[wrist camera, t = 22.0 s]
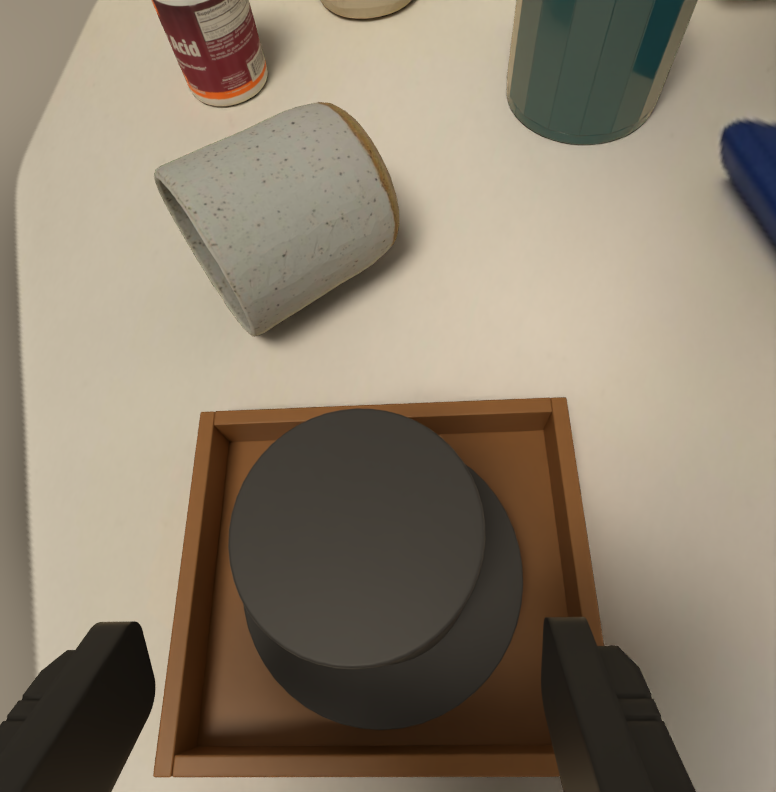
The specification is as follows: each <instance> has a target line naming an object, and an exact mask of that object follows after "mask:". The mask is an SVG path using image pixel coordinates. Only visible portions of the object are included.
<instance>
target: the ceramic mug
mask: <svg viewBox="0 0 776 792" xmlns="http://www.w3.org/2000/svg"><path fill="white" fill-rule="evenodd" d="M154 177H155V182H156V185H157V188H158V190H159V193H160V195H161V197H162V198H163V200H164V203H165V205H166V206H167V208H168V210H169V212H170V214H171V216H172V217H173V219H174V221H175V223H176V224H177V226H178V228H179V229H180V231H181V233H182V234H183V236H184V238H185V240H186V242H187V243H188V245H189V247H190V248H191V250H192V251H193V253H194V255H195V257H196V259H197V260H198V262H199V263H200V265H201V266H202V268H203V270H204V271H205V273H206V275H207V276H208V278H209V279H210V281H211V283H212V285H213V286H214V287H215V288H216V290H217V291H218V293H219V294H220V296H221V297H222V299H223V301H224V302H225V304H226V305H227V307H228V308H229V310H230V311H231V312H232V314H233V315H234V316H235V318H236V319H237V321H238V322H239V323H240V324H241V326H242V327H243V328H244V329H245V330H246V331H247V332H248V333H249V334H250V335H252V336H254V337H255V336H258V335H261V334H263V333H265V332H266V331H268V330H269V329H271V328H272V327H274V326H275V325H277V324H278V323H280V322H281V321H283V320H285V319H286V318H288V317H290V316H291V315H293V314H295V313H296V312H298V311H299V310H301V309H302V308H304V307H306V306H307V305H309V304H310V303H312V302H313V301H315V300H317V299H318V298H320V297H321V296H323V295H324V294H326V293H328V292H329V291H331V290H332V289H334V288H335V287H337V286H338V285H340V284H341V283H343V282H345V281H347V280H348V279H350V278H352V277H354V276H355V275H357V274H359V273H360V272H362V271H363V270H365V269H367V268H368V267H370V266H371V265H372V264H374V263H375V262H376V261H377V260H378V259H379V258H380V257H381V256H383V255H384V254H385V253H386V252H387V251H388V250H389V249H390V248H391V246H392V245H393V244H394V242H395V240H396V237H397V233H398V228H399V208H398V203H397V197H396V193H395V190H394V187H393V184H392V181H391V177H390V175H389V172H388V170H387V168H386V165H385V163H384V162H383V160H382V158H381V156H380V154H379V152H378V150H377V148H376V147H375V145H374V143H373V142H372V140H371V139H370V137H369V136H368V134H367V133H366V132H365V130H364V129H363V128H362V127H361V125H360V124H359V123H358V122H357V121H356V120H355V119H354V118H353V117H352V116H351V115H349V114H348V113H347V112H346V111H344V110H342V109H341V108H339V107H337V106H335V105H333V104H331V103H322V102H318V103H313V104H308V105H304V106H299V107H295V108H292V109H289V110H286V111H284V112H282V113H279V114H277V115H275V116H273V117H271V118H268V119H266V120H264V121H262V122H260V123H258V124H256V125H254V126H252V127H250V128H248V129H246V130H244V131H241V132H239V133H236V134H234V135H232V136H229V137H227V138H225V139H222V140H220V141H217V142H215V143H213V144H210V145H208V146H205V147H203V148H201V149H198V150H196V151H194V152H192V153H189V154H187V155H185V156H182V157H180V158H178V159H176V160H173V161H171V162H169V163H166V164H164V165H162V166H160V167H159V168H157V169H156V170H155V173H154Z"/></svg>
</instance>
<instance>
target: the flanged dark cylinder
mask: <svg viewBox="0 0 776 792" xmlns="http://www.w3.org/2000/svg"><path fill="white" fill-rule="evenodd" d="M228 550H229V561H230V567H231V571H232V576H233V580H234V583H235V586H236V588H237V591H238V594H239V597H240V598H241V600H242V602H243V605H244V612H245V617H246V621H247V625H248V629H249V632H250V635H251V637H252V640H253V643H254V645H255V648H256V650H257V652H258V653H259V655H260V657H261V659H262V661H263V663H264V665H265V666H266V667H267V669H268V670H269V672H270V673H271V674H272V676H273V677H274V679H275V680H276V681H277V682H278V683H279V684H280V685H281V686H282V687H283V688H284V689H285V690H286V692H287V693H288V694H289V695H291V696H292V697H293V698H294V699H296V700H297V701H298V702H300V703H301V704H302V705H303V706H305V707H306V708H308V709H310V710H311V711H313V712H315V713H317V714H318V715H320V716H322V717H324V718H327V719H329V720H332V721H334V722H337V723H340V724H343V725H347V726H351V727H356V728H360V729H373V730H389V729H401V728H406V727H410V726H414V725H419V724H422V723H425V722H427V721H430V720H432V719H435V718H437V717H440V716H442V715H444V714H445V713H447V712H449V711H450V710H452V709H454V708H456V707H457V706H459V705H460V704H461V703H463V702H464V701H465V700H467V699H468V698H469V697H470V696H472V695H473V694H474V693H475V692H476V691H477V690H478V689H479V688H480V687H481V686H482V685H483V684H484V683H485V682H486V681H487V680H488V678H489V677H490V676H491V674H492V673H493V672H494V670H495V669H496V667H497V666H498V665H499V663H500V662H501V660H502V658H503V656H504V654H505V652H506V650H507V649H508V647H509V645H510V643H511V640H512V637H513V634H514V632H515V629H516V626H517V623H518V618H519V614H520V609H521V605H522V593H523V567H522V560H521V554H520V548H519V544H518V541H517V538H516V534H515V531H514V528H513V526H512V524H511V521H510V519H509V517H508V515H507V512H506V511H505V509H504V507H503V506H502V504H501V502H500V501H499V499H498V497H497V496H496V495H495V493H494V492H493V491H492V490H491V488H490V487H489V486H488V485H487V483H486V482H485V481H484V480H483V479H482V478H481V477H480V476H479V475H478V474H477V473H476V472H475V471H474V470H472V469H471V468H470V467H469V466H467V465H466V464H465V463H464V462H463V461H462V459H461V458H460V457H459V456H458V454H457V453H456V452H455V450H454V449H453V448H452V447H451V446H450V445H449V444H448V443H447V442H446V441H445V440H444V439H443V438H441V437H440V436H439V435H437V434H436V433H435V432H434V431H432V430H431V429H430V428H428V427H426V426H424V425H423V424H421V423H419V422H417V421H415V420H413V419H410V418H408V417H406V416H403V415H400V414H396V413H393V412H389V411H384V410H377V409H361V408H355V409H345V410H338V411H334V412H329V413H325V414H322V415H320V416H317V417H314V418H311V419H309V420H307V421H305V422H303V423H301V424H299V425H297V426H295V427H294V428H292V429H291V430H289V431H288V432H286V433H285V434H283V435H282V436H281V437H280V438H278V439H277V440H276V441H275V442H274V443H272V444H271V445H270V446H269V447H268V449H267V450H266V451H265V452H264V453H263V454H262V455H261V456H260V457H259V459H258V460H257V461H256V463H255V464H254V465H253V467H252V468H251V469H250V471H249V473H248V475H247V476H246V478H245V480H244V481H243V483H242V486H241V488H240V490H239V493H238V495H237V497H236V501H235V504H234V507H233V511H232V514H231V520H230V527H229V541H228Z"/></svg>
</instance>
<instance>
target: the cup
mask: <svg viewBox="0 0 776 792" xmlns="http://www.w3.org/2000/svg"><path fill="white" fill-rule="evenodd" d="M697 1H698V0H516V8H515V16H514V24H513V32H512V40H511V48H510V56H509V64H508V72H507V82H508V83H507V99H508V103H509V105H510V108H511V110H512V111H513V113H514V114H515V116H516V117H517V118H518V119H519V120H520V122H521V123H523V124H524V125H525V126H526V127H527V128H529V129H530V130H532V131H534V132H535V133H537V134H539V135H541V136H543V137H546V138H549V139H551V140H555V141H559V142H563V143H569V144H580V145H588V144H600V143H605V142H610V141H613V140H616V139H619V138H622V137H624V136H626V135H628V134H630V133H632V132H633V131H635V130H636V129H638V128H639V127H640V126H641V125H642V124H643V123H644V122H645V121H646V120H647V119H648V118H649V116H650V114H651V113H652V111H653V108H654V107H655V105H656V103H657V101H658V98H659V96H660V93H661V91H662V88H663V86H664V83H665V81H666V78H667V76H668V73H669V71H670V68H671V66H672V63H673V61H674V58H675V56H676V53H677V51H678V48H679V46H680V43H681V41H682V38H683V36H684V33H685V31H686V28H687V26H688V23H689V21H690V18H691V16H692V13H693V11H694V8H695V6H696V3H697Z"/></svg>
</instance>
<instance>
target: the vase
mask: <svg viewBox="0 0 776 792" xmlns="http://www.w3.org/2000/svg"><path fill="white" fill-rule="evenodd" d="M410 1H411V0H321V2H322V3H323V4H324V5H325V6H326V7H327V8H328V9H329V10H330V11H332V12H333V13H335V14H337V15H340V16H343V17H348V18H359V19H361V18H374V17H380V16H384V15H388V14H391V13H394V12H396V11H398V10H400V9H401V8H403V7H405V6H406V5H407V4H408V3H409V2H410Z"/></svg>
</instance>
